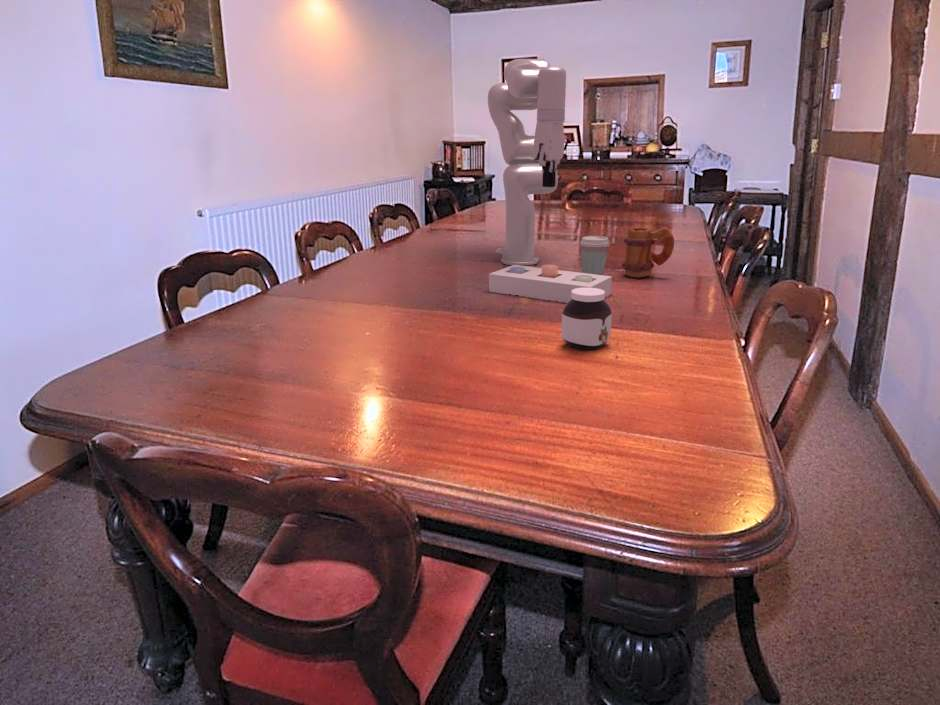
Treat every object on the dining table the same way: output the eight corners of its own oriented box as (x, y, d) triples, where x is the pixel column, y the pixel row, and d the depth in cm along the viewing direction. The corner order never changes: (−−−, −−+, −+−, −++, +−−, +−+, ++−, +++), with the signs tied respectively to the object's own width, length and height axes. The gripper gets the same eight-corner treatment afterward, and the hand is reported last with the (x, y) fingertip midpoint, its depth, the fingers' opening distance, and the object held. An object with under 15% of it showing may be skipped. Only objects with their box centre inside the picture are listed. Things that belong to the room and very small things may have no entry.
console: (489, 291, 182) (489, 273, 181) (514, 281, 193) (514, 264, 192) (589, 306, 167) (590, 287, 165) (610, 294, 178) (611, 276, 176)
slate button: (506, 286, 184) (506, 269, 183) (514, 283, 188) (514, 266, 186) (520, 288, 182) (520, 271, 180) (527, 285, 185) (528, 268, 184)
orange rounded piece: (538, 284, 179) (538, 266, 177) (545, 281, 182) (546, 263, 180) (553, 286, 176) (553, 268, 175) (560, 283, 180) (560, 265, 178)
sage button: (571, 296, 174) (572, 277, 172) (578, 292, 177) (579, 274, 176) (587, 298, 172) (588, 279, 170) (594, 294, 175) (595, 276, 173)
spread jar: (581, 355, 133) (584, 299, 129) (543, 341, 141) (545, 288, 137) (621, 343, 139) (625, 289, 135) (583, 330, 148) (585, 279, 144)
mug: (617, 277, 197) (620, 227, 192) (624, 272, 203) (628, 223, 198) (667, 282, 190) (672, 230, 185) (673, 276, 197) (678, 226, 192)
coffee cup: (607, 281, 192) (609, 240, 188) (577, 280, 193) (579, 239, 189) (607, 275, 200) (609, 235, 196) (579, 274, 201) (580, 235, 197)
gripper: (550, 117, 186) (548, 184, 192) (525, 117, 174) (524, 188, 180) (575, 116, 182) (572, 185, 188) (550, 117, 170) (548, 189, 176)
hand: (548, 186), depth 184 cm, fingers closed
